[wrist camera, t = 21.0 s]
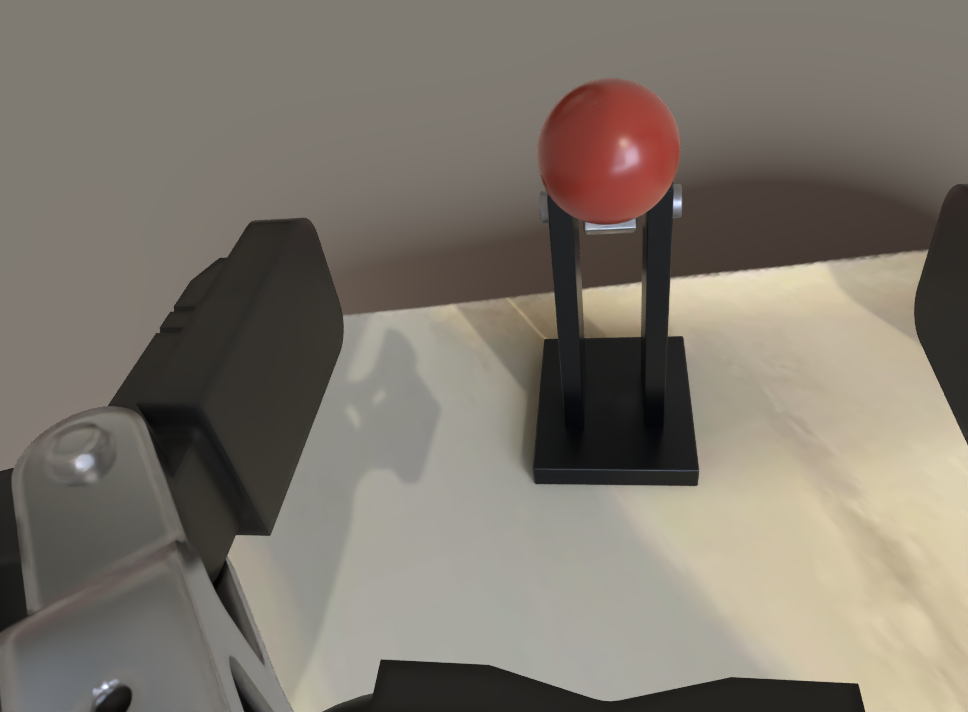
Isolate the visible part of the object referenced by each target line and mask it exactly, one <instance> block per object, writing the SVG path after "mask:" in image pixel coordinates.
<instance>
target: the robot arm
mask: <svg viewBox="0 0 968 712" xmlns="http://www.w3.org/2000/svg"><path fill="white" fill-rule="evenodd" d="M914 316H915V326H916V331H917V335H918V338H919V340H920V343H921V345H922V347H923V349H924V351H925V354H926V356H927V358H928V360H929V362H930V364H931V367H932V369H933V371H934V373H935V375H936V377H937V380H938V382H939V384H940V386H941V388H942V390H943V392H944V395H945V397H946V399H947V401H948V403H949V405H950V408H951V410H952V412H953V414H954V416H955V418H956V421H957V423H958V425H959V427H960V429H961V431H962V434H963V436H964V438H965V440H966V442H967V444H968V184H958V185H956V186H954V187H952V188H951V189H950V191H949V192H948V194H947V196H946V198H945V200H944V203H943V205H942V208H941V211H940V215H939V218H938V221H937V225H936V228H935V231H934V235H933V238H932V241H931V244H930V248H929V251H928V254H927V258H926V261H925V264H924V268H923V271H922V274H921V277H920V281H919V284H918V287H917V291H916V297H915V306H914ZM343 333H344V325H343V315H342V310H341V306H340V303H339V299H338V296H337V293H336V290H335V287H334V284H333V281H332V278H331V274H330V272H329V268H328V265H327V262H326V259H325V256H324V253H323V250H322V247H321V243H320V241H319V237H318V235H317V232H316V229H315V227H314V225H313V224H312V223H311V221H310V220H309V219H307V218H291V219H274V220H273V219H272V220H255V221H252V222H251V223H249V225H248V226H247V227H246V229H245V231H244V232H243V234H242V235H241V237H240V238H239V240H238V242H237V243H236V245H235V246H234V248H233V249H232V251H231V253H230V254H229V256H228V257H227V258H219V259H218V260H217V261H215V262H214V263H213V264H211V265H210V266H209V267H208V268H206V269H205V270H204V271H203V272H202V273H200V274H199V275H198V276H196V277H195V278H194V279H193V280H191V281H190V283H189V284H188V286H187V287H186V289H185V290H184V292H183V294H182V295H181V297H180V298H179V299H178V301H177V302H176V304H175V305H174V312H170V313H169V315H168V316H167V318H166V319H165V321H164V322H163V324H162V325H161V327H160V333H156V334H155V336H154V337H153V339H152V340H151V342H150V343H149V345H148V346H147V348H146V349H145V351H144V352H143V354H142V355H141V357H140V358H139V360H138V361H137V363H136V364H135V366H134V367H133V369H132V370H131V372H130V373H129V375H128V376H127V378H126V380H125V381H124V382H123V384H122V386H121V387H120V388H119V390H118V391H117V393H116V394H115V396H114V397H113V399H112V400H111V402H110V404H109V405H108V406H107V407H99V408H93V409H90V410H86V411H82V412H80V413H77V414H74V415H72V416H70V417H68V418H66V419H64V420H62V421H60V422H58V423H56V424H55V425H53V426H51V427H50V428H49V429H47V430H46V431H44V432H43V433H42V434H41V435H39V436H38V437H37V438H36V439H35V440H34V441H33V442H32V443H31V444H30V445H29V446H28V447H27V448H26V449H25V450H24V452H23V453H22V455H21V456H20V458H19V459H18V461H17V463H16V465H15V467H14V468H11V469H8V470H3V471H0V712H294V711H293V709H292V707H291V706H290V704H289V702H288V700H287V698H286V696H285V694H284V692H283V690H282V688H281V685H280V683H279V681H278V679H277V676H276V674H275V671H274V669H273V666H272V664H271V661H270V658H269V656H268V653H267V651H266V648H265V646H264V643H263V641H262V638H261V636H260V633H259V630H258V628H257V625H256V623H255V620H254V618H253V615H252V613H251V610H250V607H249V605H248V602H247V600H246V597H245V595H244V592H243V590H242V587H241V585H240V582H239V579H238V577H237V574H236V572H235V569H234V567H233V565H232V563H231V561H230V560H229V558H228V557H227V555H228V552H229V550H230V548H231V545H232V543H233V540H234V538H235V536H236V535H261V536H270V535H271V533H272V530H273V527H274V525H275V522H276V519H277V517H278V514H279V512H280V509H281V506H282V504H283V501H284V498H285V496H286V493H287V491H288V488H289V485H290V483H291V480H292V477H293V475H294V472H295V469H296V467H297V464H298V462H299V459H300V456H301V454H302V451H303V448H304V446H305V443H306V441H307V438H308V435H309V433H310V430H311V427H312V425H313V422H314V419H315V417H316V414H317V412H318V409H319V406H320V404H321V401H322V398H323V396H324V393H325V390H326V388H327V385H328V383H329V380H330V377H331V375H332V372H333V369H334V367H335V364H336V362H337V359H338V356H339V354H340V351H341V348H342V343H343ZM323 712H865V709H864V705H863V701H862V697H861V693H860V689H859V685H858V684H854V683H834V682H815V681H795V680H775V679H755V678H736V677H730V678H725V679H721V680H716V681H711V682H706V683H701V684H697V685H692V686H687V687H682V688H677V689H673V690H668V691H663V692H658V693H653V694H648V695H644V696H639V697H634V698H629V699H624V700H619V701H601V700H597V699H593V698H590V697H586V696H583V695H580V694H577V693H574V692H571V691H568V690H565V689H562V688H559V687H556V686H552V685H549V684H546V683H543V682H540V681H537V680H534V679H531V678H528V677H525V676H521V675H518V674H515V673H512V672H509V671H506V670H503V669H500V668H497V667H494V666H490V665H479V664H459V663H439V662H420V661H400V660H381V661H380V666H379V670H378V674H377V679H376V683H375V688H374V692H373V694H368V695H364V696H360V697H357V698H355V699H352V700H349V701H346V702H343V703H340V704H338V705H335V706H333V707H331V708H329V709H327V710H325V711H323Z"/></svg>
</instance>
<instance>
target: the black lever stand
mask: <svg viewBox="0 0 968 712" xmlns="http://www.w3.org/2000/svg"><path fill="white" fill-rule="evenodd" d="M681 215H682V186H681V184H673V182H672V184H671V186H670V188H669V189H668V191H667V192H666V194H665V195H664V196H663V197H662V199H661V200H660V201H659V202H658V203H657V204H656V205H655V206H654V207H653V208H651V209H650V210H649V211H647V212H646V213H644V214H643V237H642V238H643V239H642V240H643V241H642V242H643V243H642V311H641V337H621V338H584V322H583V302H582V285H581V284H582V282H581V262H580V243H579V223H578V219H577V218H575V217H573V216H571V215H569V214H568V213H566V212H565V211H564V210H562V209H561V208H560V207H559V206H558V205H557V204H556V203H555V202H554V201H553V200H552V198H551V197H550V196H549V194H548V193H547V191H541V192H540V219H541V223H543V224H544V223H549V229H550V242H551V255H552V267H553V280H554V293H555V305H556V318H557V330H558V339H545V340H544V349H543V360H542V372H541V383H540V394H539V406H538V417H537V428H536V440H535V451H534V462H533V473H534V481H535V484H586V485H668V486H697V485H698V478H699V465H698V457H697V448H696V440H695V431H694V423H693V415H692V406H691V398H690V389H689V381H688V373H687V364H686V356H685V347H684V339H683V337H682V336H671V337H668V317H669V294H670V271H671V248H672V247H671V246H672V224H673V218H677V217H681Z"/></svg>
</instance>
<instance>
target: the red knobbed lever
mask: <svg viewBox="0 0 968 712" xmlns="http://www.w3.org/2000/svg"><path fill="white" fill-rule="evenodd" d="M679 159H680V137H679V132H678V128H677V125H676V122H675V119H674V117H673V116H672V114H671V112H670V110H669V109H668V107H667V106H666V105H665V103H664V102H663V101H662V100H661V99H660V98H659V97H658V96H657V95H656V94H655V93H653V92H652V91H651V90H650V89H648V88H646V87H645V86H643V85H641V84H639V83H636V82H633V81H630V80H625V79H620V78H603V79H597V80H593V81H590V82H586V83H584V84H582V85H580V86H578V87H576V88H574V89H572V90H571V91H570V92H568V93H567V94H566V95H564V96H563V97H562V98H561V99H560V100H559V101H558V102H557V103H556V104H555V105H554V107H553V108H552V109H551V111H550V112H549V114H548V115H547V117H546V119H545V121H544V123H543V125H542V128H541V131H540V134H539V138H538V144H537V164H538V170H539V174H540V177H541V180H542V183H543V185H544V187H545V189H546V191H547V193H548V194H549V196H550V197H551V198H552V200H553V201H554V202H555V203H556V204H557V205H558V206H559V207H560V208H561V209H562V210H564V211H565V212H566V213H568V214H569V215H571V216H573V217H575V218H577V219H579V220H582V221H584V231H585V232H586V234H588V235H592V234H615V233H634V232H635V230H636V228H637V217H639V216H641V215H643V214H644V213H646V212H647V211H649V210H650V209H651V208H653V207H654V206H655V205H656V204H657V203H658V202H659V201H660V200H661V199H662V197H663V196H664V195H665V194H666V192H667V191H668V189H669V188H670V186H671V184H672V182H673V180H674V178H675V175H676V172H677V169H678V164H679Z"/></svg>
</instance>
